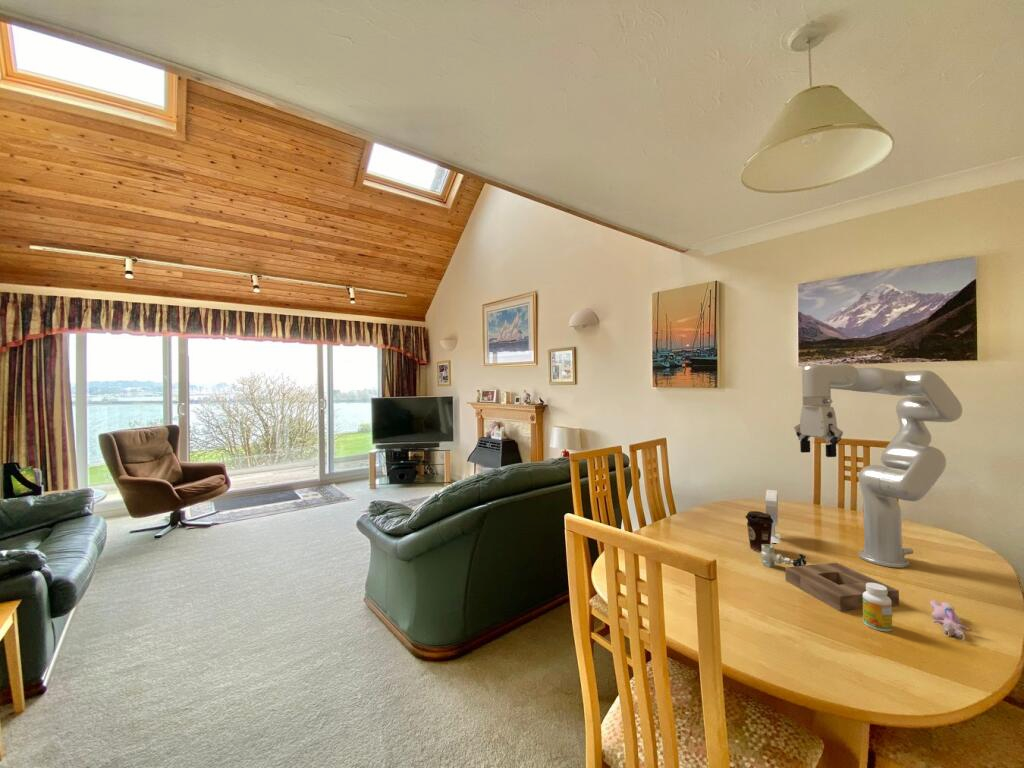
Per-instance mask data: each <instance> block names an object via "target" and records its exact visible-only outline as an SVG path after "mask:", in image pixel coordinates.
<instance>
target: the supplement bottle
mask: <svg viewBox="0 0 1024 768" xmlns="http://www.w3.org/2000/svg"><path fill="white" fill-rule="evenodd" d="M866 590H867V591H865V592H864V593H863V609H862V622H863V623H864V624H865V626H867V627H869V628H871V629H874V630H876V631H879V632H891V631H892V630H893V610H892V609H893V606H892V602H891V599H890V598H889V597H888V596H886V595H887V594H888V592H887V588H886V587H885V586H883V585H880V584H877V583H866Z"/></svg>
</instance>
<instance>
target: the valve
mask: <svg viewBox="0 0 1024 768" xmlns="http://www.w3.org/2000/svg"><path fill="white" fill-rule="evenodd" d="M798 556H799V557H800V558H799V557H798V558H796V559H793V560H791V558H789V557H783V555H782V554H781V553H775V546H774V545H773V544H771V545H769V544H762V551H761V552H760V557H761V564H762V566H763V567H765V568H769V569H774V568H775V567H776V564H778V565H781V564H782V563H784V564H785V565H789V566H790V565H792V567H795V566H806V565H808V564H807V562H808V561H807V560H806V559H807V558H806V555H805V554H802V553H799V555H798Z"/></svg>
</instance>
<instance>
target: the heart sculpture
mask: <svg viewBox="0 0 1024 768" xmlns="http://www.w3.org/2000/svg"><path fill="white" fill-rule="evenodd" d="M778 501H779V499H778V490H775V489H774V490H773V489H766V492H765V513H766V514H769V515H770V516H771V518H772V520H773V523H772V530H771V531H772V532H771V543H772V542H773V543H780V544H781V540H780V535H781V534H779V533H776V526H779V517H778V516H779V502H778ZM775 533H776V534H775ZM779 541H780V542H779Z"/></svg>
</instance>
